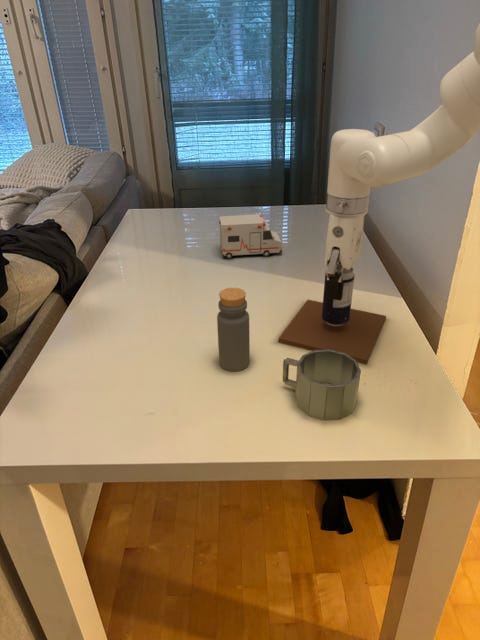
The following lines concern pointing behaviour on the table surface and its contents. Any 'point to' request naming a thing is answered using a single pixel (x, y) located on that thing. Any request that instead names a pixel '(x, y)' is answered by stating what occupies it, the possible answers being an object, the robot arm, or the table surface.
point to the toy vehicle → (247, 236)
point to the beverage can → (339, 301)
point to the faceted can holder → (322, 397)
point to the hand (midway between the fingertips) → (338, 290)
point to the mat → (334, 332)
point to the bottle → (233, 330)
